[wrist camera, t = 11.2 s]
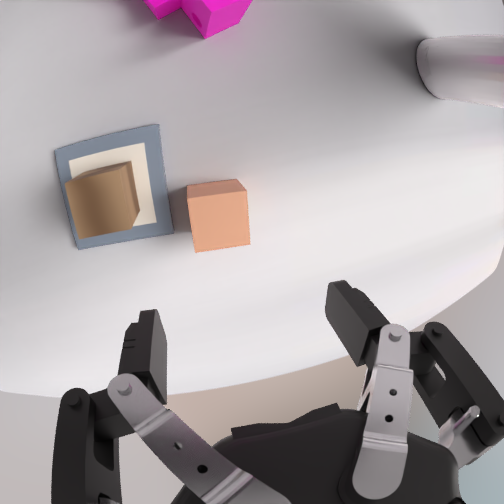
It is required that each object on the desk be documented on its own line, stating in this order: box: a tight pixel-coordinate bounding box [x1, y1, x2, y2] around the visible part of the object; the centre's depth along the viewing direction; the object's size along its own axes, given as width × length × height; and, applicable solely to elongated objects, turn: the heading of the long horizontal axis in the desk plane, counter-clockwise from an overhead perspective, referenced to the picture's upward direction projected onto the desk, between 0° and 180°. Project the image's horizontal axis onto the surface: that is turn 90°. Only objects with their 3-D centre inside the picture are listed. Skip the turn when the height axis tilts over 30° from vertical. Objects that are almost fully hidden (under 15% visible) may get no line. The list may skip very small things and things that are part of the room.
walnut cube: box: [65, 161, 140, 239], centre depth 22 cm, size 5×5×5 cm
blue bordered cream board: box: [55, 124, 174, 250], centre depth 24 cm, size 11×11×1 cm
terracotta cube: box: [187, 179, 250, 253], centre depth 26 cm, size 5×5×5 cm
